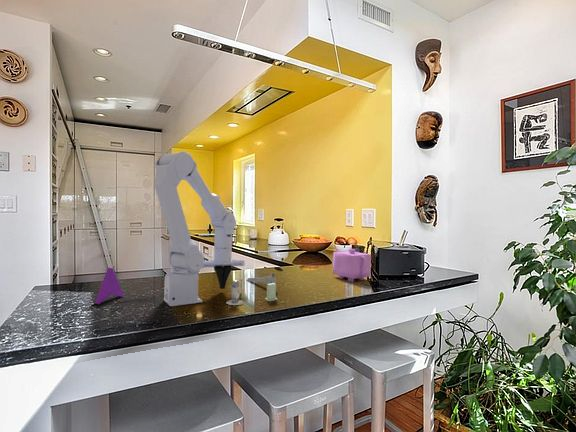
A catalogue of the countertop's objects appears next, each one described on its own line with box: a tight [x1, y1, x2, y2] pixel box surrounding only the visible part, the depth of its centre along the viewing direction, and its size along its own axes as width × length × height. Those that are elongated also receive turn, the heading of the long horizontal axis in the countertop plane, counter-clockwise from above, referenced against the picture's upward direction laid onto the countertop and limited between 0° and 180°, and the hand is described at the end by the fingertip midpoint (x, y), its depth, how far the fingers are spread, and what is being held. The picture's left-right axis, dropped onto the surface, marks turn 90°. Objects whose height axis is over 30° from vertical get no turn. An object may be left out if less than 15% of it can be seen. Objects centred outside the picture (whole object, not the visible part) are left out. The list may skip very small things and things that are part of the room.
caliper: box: [246, 272, 277, 285], centre depth 124 cm, size 20×1×6 cm, turn 35°
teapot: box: [332, 248, 372, 282], centre depth 142 cm, size 20×10×12 cm, turn 32°
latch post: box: [264, 283, 278, 302], centre depth 105 cm, size 3×2×5 cm
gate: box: [234, 278, 243, 300], centre depth 107 cm, size 11×2×4 cm, turn 4°
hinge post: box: [225, 280, 244, 307], centre depth 100 cm, size 5×5×7 cm
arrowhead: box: [94, 267, 125, 305], centre depth 100 cm, size 10×2×10 cm
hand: (222, 288), depth 112 cm, fingers closed
